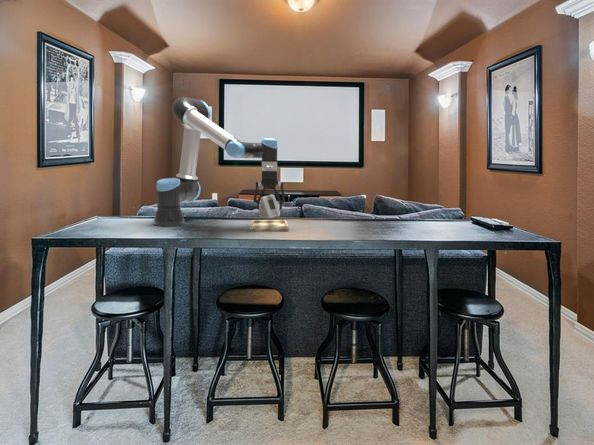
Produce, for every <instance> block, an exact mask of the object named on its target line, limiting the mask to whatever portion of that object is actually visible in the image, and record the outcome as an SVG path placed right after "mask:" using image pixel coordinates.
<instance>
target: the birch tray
mask: <svg viewBox="0 0 594 445" xmlns="http://www.w3.org/2000/svg"><path fill="white" fill-rule="evenodd" d="M249 228H250V232H289V224H288V221H287V220H286V219H285V220H284V219H283V220H281V219H278V220H277V219H275V220H273V219H272V220H271V219H267V220H266V219H263V220H261V219H258V220H257V219H251V223H250V227H249Z"/></svg>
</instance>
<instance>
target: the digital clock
mask: <svg viewBox="0 0 594 445" xmlns="http://www.w3.org/2000/svg"><path fill="white" fill-rule="evenodd" d="M260 203H261V208H260V217H259V218H260V219H261V218H262V219H273V218H275V217H276V218H277V217H278V202H277V199H276V195H274V194H267V195H263V196H262V197H261V200H260Z"/></svg>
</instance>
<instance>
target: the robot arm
mask: <svg viewBox="0 0 594 445" xmlns="http://www.w3.org/2000/svg"><path fill="white" fill-rule="evenodd" d="M171 111H172V113H173V114H172V115H173V116H174V117H175V118H176V119H177V120H178V121H180V122H181V125H182V126H183V127H184V129H183V136H182V145H181V146H182V147H181V154H180V163H179V170H178V173H177V174H176V175H175V177H168V178H160V179H158V180H157V181H156V188H155V189H156V209H157V210H156V212H155V216H154V219H153V225H154V226H159V227H175V226H183V225H185V218H184V216H183V212H182V209H181V208H182V206H181V205H182V204H181V203H185V202H187V203H188V202H192V201H195V200H197V199H198V197H199V196H200V194H201V190H202V188H201V185H200V182H198V181H199V178H198V176H197V174H196V173H197V166H198V165H197V164H198V159H199V158H198V157H199V152H200V151H199V148H200V143H201V142H200V141H201V134H202V135H203V136H204V137H206V138H207V139H209V140H210V141H212V142H214V144H216V145H217V146H219V147H220V148H222V149H223V150H224V151H226V154H227V156H229V157H230V158H233V159H261V170H262V171H261V180H260V181H256V182H255V190H254V196H253V202H254V203H256V210H259V214H258V216H259V218H260V208H262V203H261V197H264V194H265V192H266V191H267V190H273V192H274V194H275V197H276V198H277V200H278V202H277V205H278V215H277V217H280V214H281V211H282V209H283V203H285V202H286V197H285V196H286V195H285V191H284V182H283V181H281V182H280V181H278V171H277V170H278V140H277V139H276V138H262V139H261V142H246V141H245V142H244V141H241V140H239V139H238V138H236V137H235V136H233V135H232V134H230V133H229V132H228V131H227V130H225V129H224V128H222V127H220V126H219V125H218V124H216V123H215V122H213V121H212V120H210V118H211V109H210V107H209V106H208V104H207V103H206V102H205V101H203V100H200V99H197V98H192V97H191V98H190V97H186V96H181V97H178V98H176V99H175V100H174V102H173V104H172V107H171ZM261 185H262V186H263V188H262V189H261V193H260V194H259V196H258V192H259V188H260V186H261ZM277 186H279V187H280V193H281V197H280V195H279V193H278V190H277V188H276V187H277ZM257 196H258V199H257ZM281 198H282V199H281Z"/></svg>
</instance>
